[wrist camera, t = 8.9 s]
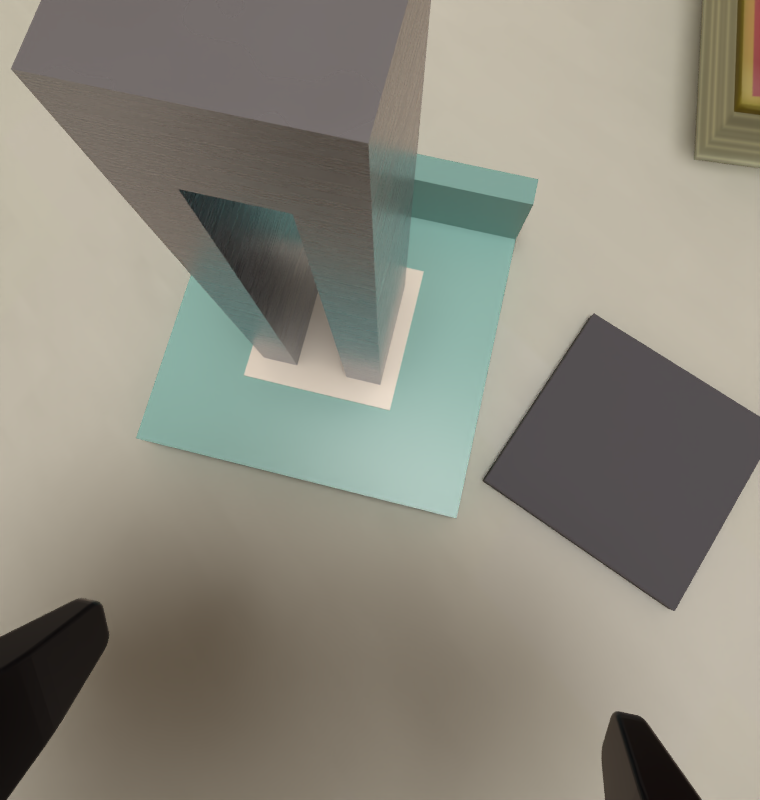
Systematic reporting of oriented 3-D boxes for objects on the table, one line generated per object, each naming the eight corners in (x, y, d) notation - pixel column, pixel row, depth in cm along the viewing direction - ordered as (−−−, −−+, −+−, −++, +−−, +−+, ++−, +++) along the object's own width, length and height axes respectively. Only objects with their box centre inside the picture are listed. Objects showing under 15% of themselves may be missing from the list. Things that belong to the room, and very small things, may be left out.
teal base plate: (452, 517, 19) (467, 521, 15) (150, 441, 20) (99, 429, 16) (512, 232, 21) (538, 179, 18) (239, 173, 22) (211, 110, 18)
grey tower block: (380, 384, 19) (368, 143, 6) (263, 357, 19) (11, 69, 6) (404, 286, 19) (440, -120, 7) (292, 261, 20) (118, -178, 7)
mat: (668, 608, 18) (674, 610, 18) (482, 480, 19) (484, 480, 19) (769, 429, 20) (777, 427, 19) (590, 316, 20) (593, 313, 20)
